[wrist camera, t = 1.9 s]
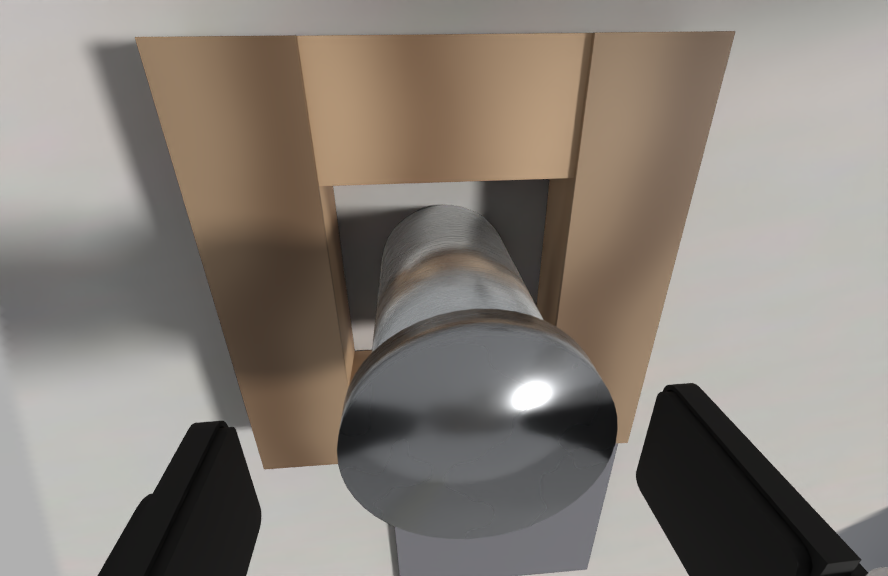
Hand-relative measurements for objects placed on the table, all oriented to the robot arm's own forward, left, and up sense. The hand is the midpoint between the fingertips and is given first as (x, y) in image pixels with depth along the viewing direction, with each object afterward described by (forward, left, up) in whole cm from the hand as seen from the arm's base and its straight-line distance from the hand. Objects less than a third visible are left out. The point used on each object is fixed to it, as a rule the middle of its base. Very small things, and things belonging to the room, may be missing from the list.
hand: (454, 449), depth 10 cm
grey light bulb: (-1, 0, -9) cm, 9 cm away
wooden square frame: (-1, 0, -9) cm, 9 cm away
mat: (-4, +16, -9) cm, 18 cm away
